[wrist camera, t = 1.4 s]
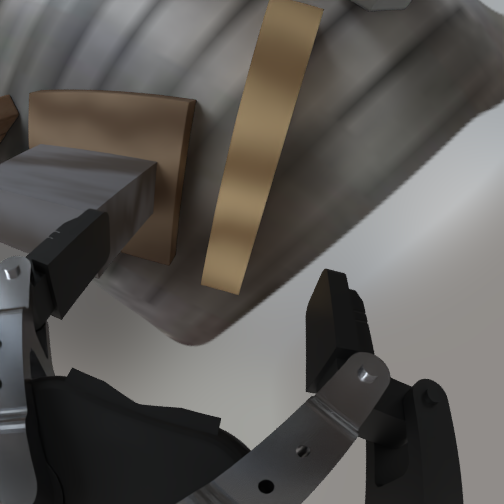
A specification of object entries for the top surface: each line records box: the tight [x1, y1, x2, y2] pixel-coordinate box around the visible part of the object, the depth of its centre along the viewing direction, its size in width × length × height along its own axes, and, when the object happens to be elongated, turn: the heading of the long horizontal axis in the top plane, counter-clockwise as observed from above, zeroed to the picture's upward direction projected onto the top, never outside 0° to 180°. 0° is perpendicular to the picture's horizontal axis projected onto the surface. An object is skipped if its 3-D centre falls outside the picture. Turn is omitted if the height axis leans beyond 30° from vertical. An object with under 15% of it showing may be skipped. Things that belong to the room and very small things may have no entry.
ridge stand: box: [0, 90, 196, 279], centre depth 22 cm, size 16×18×12 cm
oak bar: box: [201, 0, 324, 295], centre depth 23 cm, size 24×4×5 cm, turn 165°
